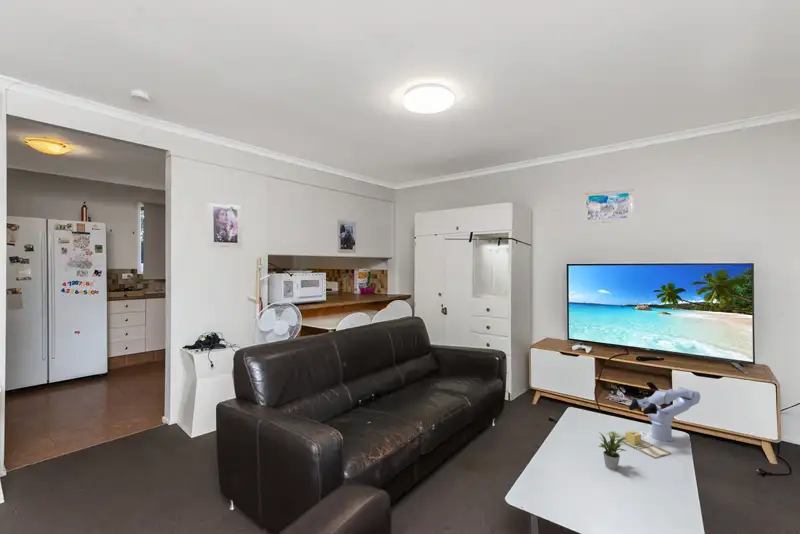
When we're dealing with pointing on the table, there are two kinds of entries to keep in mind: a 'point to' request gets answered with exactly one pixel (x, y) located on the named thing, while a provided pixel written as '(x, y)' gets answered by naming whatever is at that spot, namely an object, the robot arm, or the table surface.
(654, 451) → the organizer board
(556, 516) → the table surface
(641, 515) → the table surface
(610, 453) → the house plant
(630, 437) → the letter cube
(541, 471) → the table surface
